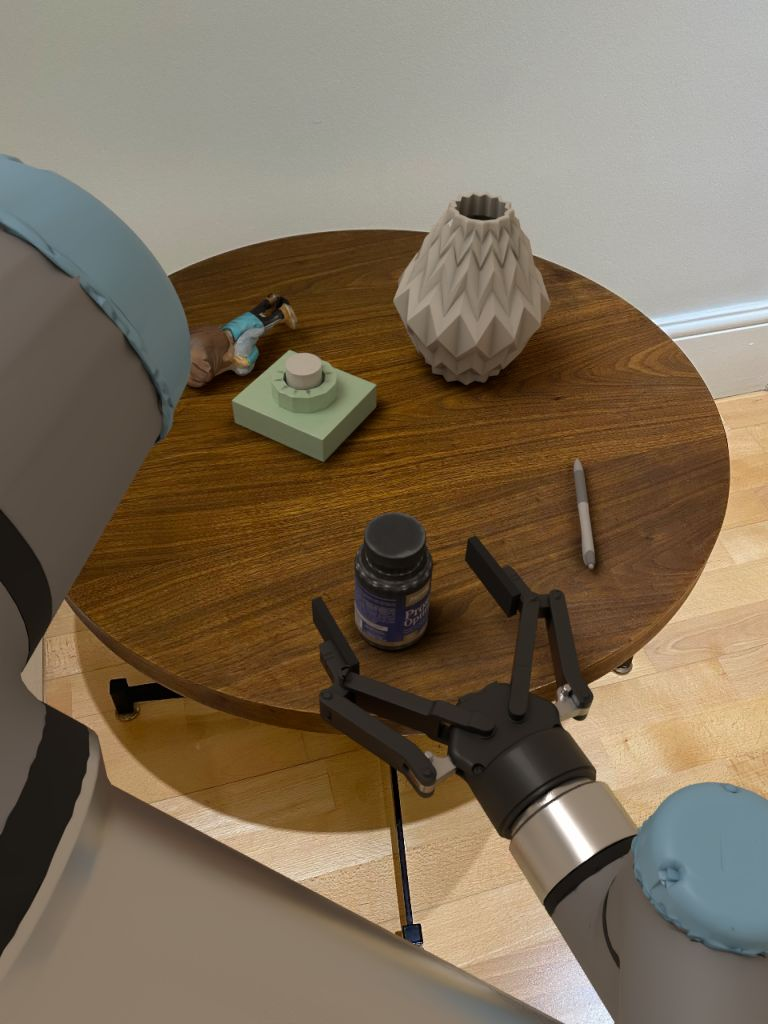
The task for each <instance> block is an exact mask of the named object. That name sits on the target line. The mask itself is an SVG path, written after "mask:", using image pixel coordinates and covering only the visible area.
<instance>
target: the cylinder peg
mask: <svg viewBox="0 0 768 1024" xmlns="http://www.w3.org/2000/svg"><path fill="white" fill-rule="evenodd" d="M297 353H298V352H297ZM320 359H321V358H320V357H318V356H317V355H316V354H313V353H311V352H310V353H309V352H299V353H298V354H295V355H292V356H291V357H289V358H288V359H287V360H286V363H285V369H286V381H287V384H288V386H289V387H291V388H293V389H296V390H310V389H313V388H316V387H319V386H320V385H321V383H322V362H321V360H322V359H321V360H320Z"/></svg>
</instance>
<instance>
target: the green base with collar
mask: <svg viewBox="0 0 768 1024" xmlns="http://www.w3.org/2000/svg"><path fill="white" fill-rule="evenodd" d="M295 354H298V352H296V351H293V350H291V349H288V350H287V351H286V352H285V353H284V354H283V355H281V356H280V357H279V358H278V359H277V360H276V361H275V362H274V363H272V364H271V365H270V366H269V367H268V368H267V369H266V370H265V371H264V372H262V373H261V374H260V375H259V376H258V377H257V378H256V379H254V380H253V381H252V382H251V383H250V384H248V385H247V386H246V387H245V388H244V389H243V390H242V391H240V392H239V393H238V394H237V395H236V396H235V397H234V398H233V399H231V404H232V405H231V406H232V411H233V419H234V420H233V421H234V423H235V424H237V425H239V426H241V427H243V428H246V429H248V430H250V431H253V432H255V433H257V434H258V435H261V436H264V437H266V438H268V439H270V440H272V441H276V442H277V443H280V444H282V445H283V446H287V447H288V448H290V449H293V450H295V451H298V452H299V453H302V454H304V455H307V456H308V457H311V458H313V459H315V460H317V461H320V462H322V463H324V462H326V461H327V459H328V458H329V457H330V456H332V454H333V453H334V452H335V451H336V450H337V449H338V448H339V447H340V446H341V445H342V444H343V443H344V441H346V439H348V437H349V436H350V435H351V434H352V433H353V432H354V431H355V430H356V429H357V428H358V427H359V426H360V425H361V424H362V423H363V422H364V420H366V419H367V417H368V416H370V414H371V413H372V412H373V411H374V410H375V409H376V408H377V397H378V396H377V395H378V394H377V389H378V385H377V383H374V382H372V381H368V380H366V379H363V378H361V377H358V376H356V375H353V374H351V373H348V372H346V371H343V370H341V369H339V368H336V367H333V366H332V364H331V363H330V362H328V361H327V360H323V359H321V358H320V360H321V362H322V383H321V385H320V386H319V387H316V388H313V389H310V390H296V389H293V388H291V387H289V386H288V384H287V381H286V369H285V363H286V360H287V359H288V358H289V357H291V356H292V355H295Z"/></svg>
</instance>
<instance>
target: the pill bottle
mask: <svg viewBox="0 0 768 1024" xmlns="http://www.w3.org/2000/svg"><path fill="white" fill-rule="evenodd" d="M353 560H354V561H353V562H354V563H353V564H354V568H353V569H354V570H353V571H354V573H353V574H354V624H355V627H356V629H357V631H358V633H359V635H360V637H361V638H362V639H363V640H364V641H366V642H367V643H368V644H370V645H371V646H373V647H375V648H378V649H381V650H385V651H398V650H403V649H406V648H408V647H411V646H413V645H415V643H417V642H418V641H419V640H421V638H422V637H423V635H424V634H425V632H426V630H427V627H428V622H429V621H428V620H429V612H430V600H431V590H432V580H433V569H434V560H433V555H432V553H431V551H430V549H429V547H428V546H427V532H426V529H425V527H424V525H423V524H422V523H421V522H420V521H419V520H418V519H417V518H415V517H414V516H412V515H409V514H408V513H407V514H406V513H402V512H394V511H393V512H386V513H382V514H379V515H377V516H375V517H374V518H373V519H371V520H370V521H369V522H368V523H367V525H366V526H365V529H364V531H363V542H362V543H361V545H359V547H358V548H357V551H356V553H355V557H354V559H353Z"/></svg>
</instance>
